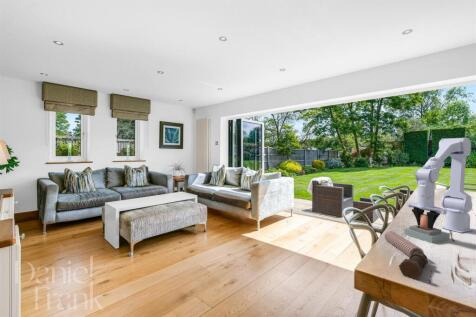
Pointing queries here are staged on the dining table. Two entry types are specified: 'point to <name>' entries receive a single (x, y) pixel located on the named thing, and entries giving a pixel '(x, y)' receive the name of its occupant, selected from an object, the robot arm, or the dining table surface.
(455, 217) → the robot arm
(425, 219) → the peg
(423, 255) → the bolt
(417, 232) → the socket board
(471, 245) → the dining table surface
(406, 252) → the coil
